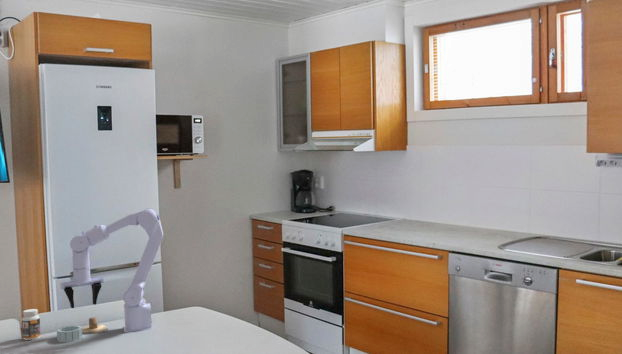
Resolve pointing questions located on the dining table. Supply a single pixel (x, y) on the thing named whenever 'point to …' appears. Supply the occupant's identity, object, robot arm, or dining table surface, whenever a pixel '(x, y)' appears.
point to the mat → (98, 332)
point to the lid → (93, 327)
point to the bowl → (69, 333)
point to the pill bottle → (30, 324)
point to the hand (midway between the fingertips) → (83, 305)
